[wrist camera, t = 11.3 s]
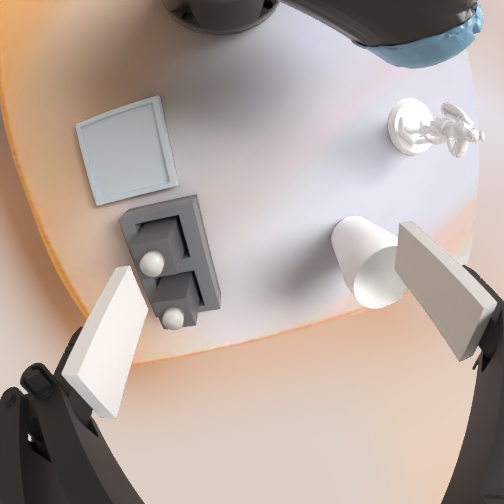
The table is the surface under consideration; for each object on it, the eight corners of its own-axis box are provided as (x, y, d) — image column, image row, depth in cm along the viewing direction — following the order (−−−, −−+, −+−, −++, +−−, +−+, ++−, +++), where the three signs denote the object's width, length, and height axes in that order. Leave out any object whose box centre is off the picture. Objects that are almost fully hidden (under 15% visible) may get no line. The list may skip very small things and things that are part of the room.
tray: (80, 123, 31) (75, 124, 30) (160, 95, 31) (157, 95, 30) (100, 202, 37) (96, 206, 35) (178, 183, 36) (176, 186, 35)
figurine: (411, 86, 31) (483, 88, 18) (442, 130, 34) (512, 150, 21) (376, 124, 34) (445, 139, 21) (411, 167, 37) (478, 199, 24)
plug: (163, 269, 41) (149, 310, 33) (192, 264, 41) (184, 305, 33) (172, 294, 43) (162, 337, 35) (200, 290, 43) (195, 333, 35)
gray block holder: (128, 209, 37) (99, 242, 28) (196, 194, 37) (185, 224, 28) (161, 301, 45) (147, 347, 36) (220, 292, 45) (219, 340, 36)
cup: (342, 272, 45) (371, 320, 34) (311, 233, 41) (338, 278, 31) (386, 238, 42) (425, 278, 32) (360, 195, 39) (402, 228, 28)
